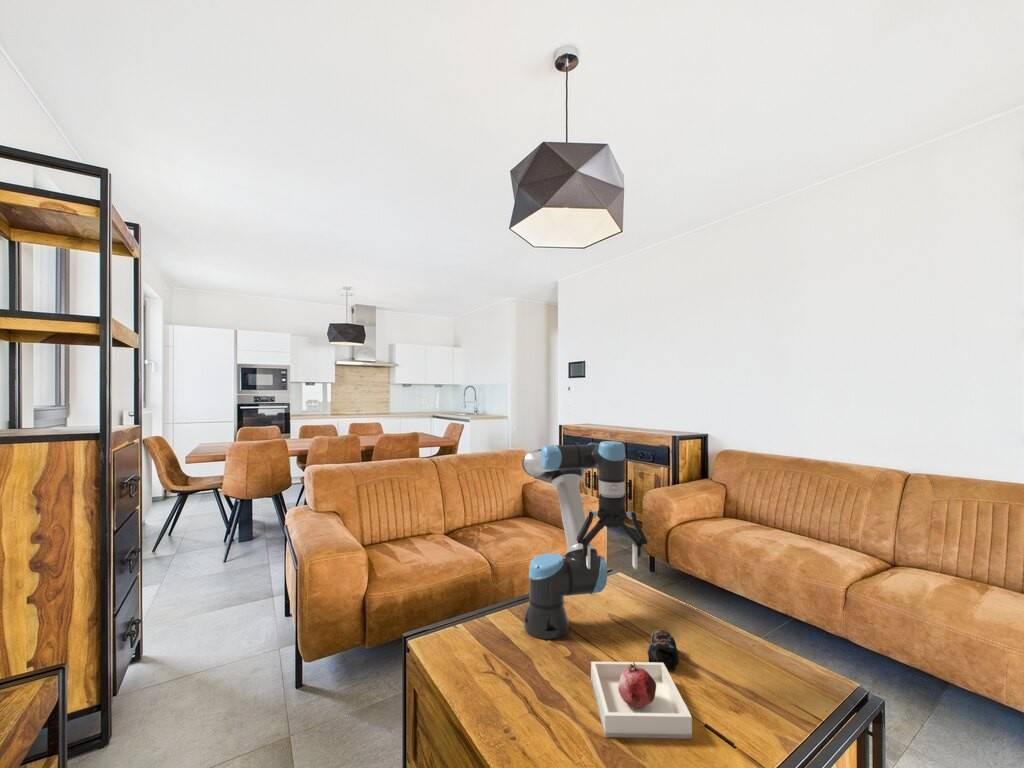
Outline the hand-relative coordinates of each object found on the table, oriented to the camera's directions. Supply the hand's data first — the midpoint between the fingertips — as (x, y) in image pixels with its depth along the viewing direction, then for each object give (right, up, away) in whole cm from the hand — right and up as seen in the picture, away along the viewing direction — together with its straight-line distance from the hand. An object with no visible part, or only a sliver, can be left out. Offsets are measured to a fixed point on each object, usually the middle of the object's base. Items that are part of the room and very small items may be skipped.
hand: (611, 567), depth 128 cm
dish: (+3, -28, -17) cm, 33 cm away
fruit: (+3, -28, -17) cm, 32 cm away
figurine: (+16, -29, +3) cm, 33 cm away
